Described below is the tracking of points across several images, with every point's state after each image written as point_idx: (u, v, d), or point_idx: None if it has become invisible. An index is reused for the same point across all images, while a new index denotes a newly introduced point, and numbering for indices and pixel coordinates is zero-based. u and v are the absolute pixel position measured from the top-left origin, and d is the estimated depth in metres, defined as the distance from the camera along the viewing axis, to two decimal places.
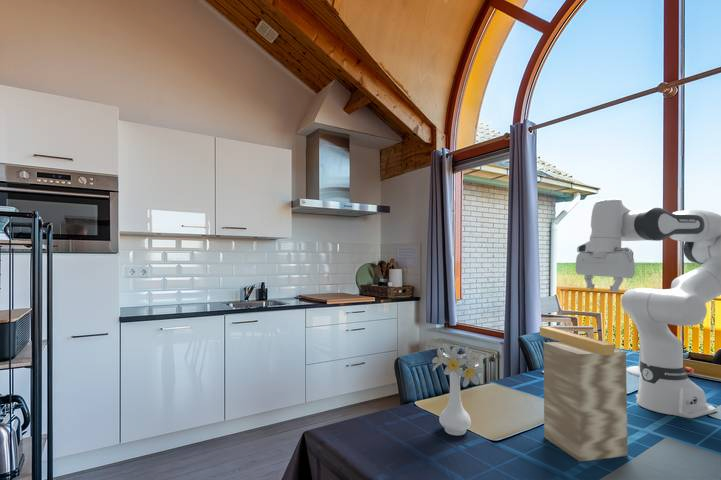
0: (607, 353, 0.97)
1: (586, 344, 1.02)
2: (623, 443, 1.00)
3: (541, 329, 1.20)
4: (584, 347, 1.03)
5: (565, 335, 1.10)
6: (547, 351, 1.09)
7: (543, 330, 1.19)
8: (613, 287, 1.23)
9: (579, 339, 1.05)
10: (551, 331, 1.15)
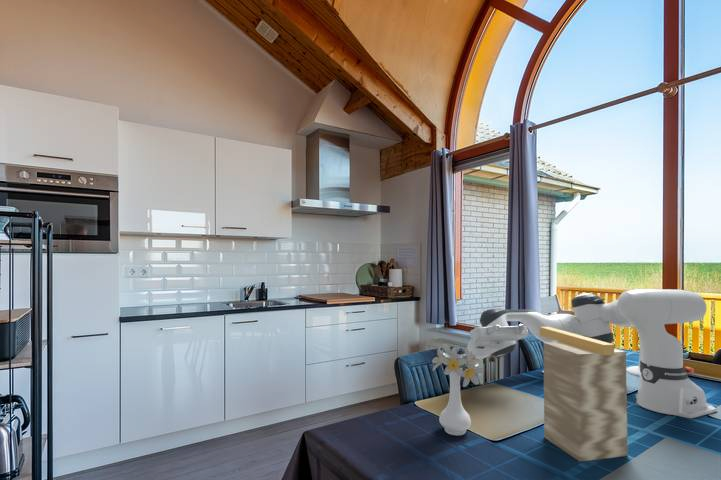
0: (607, 353, 0.97)
1: (586, 344, 1.02)
2: (623, 443, 1.00)
3: (541, 329, 1.20)
4: (584, 347, 1.03)
5: (565, 335, 1.10)
6: (547, 351, 1.09)
7: (543, 330, 1.19)
8: None
9: (579, 339, 1.05)
10: (551, 331, 1.15)
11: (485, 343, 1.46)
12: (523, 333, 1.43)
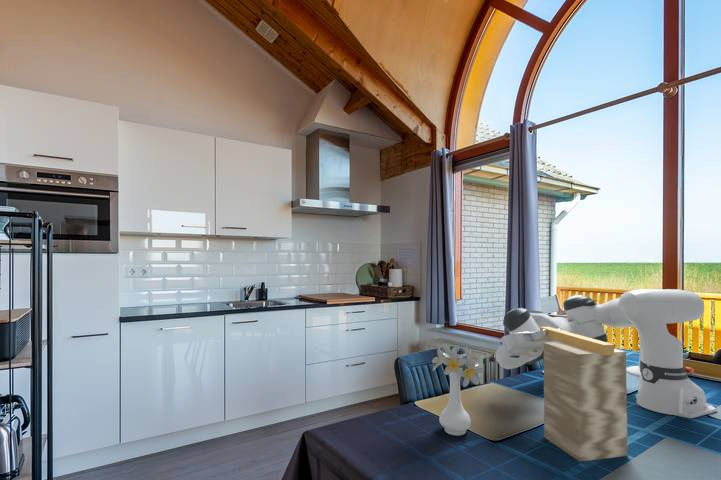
0: (607, 353, 0.97)
1: (586, 344, 1.02)
2: (623, 443, 1.00)
3: (541, 329, 1.20)
4: (584, 347, 1.03)
5: (565, 335, 1.10)
6: (547, 351, 1.09)
7: None
8: None
9: (579, 339, 1.05)
10: (551, 331, 1.15)
11: (521, 351, 1.24)
12: None
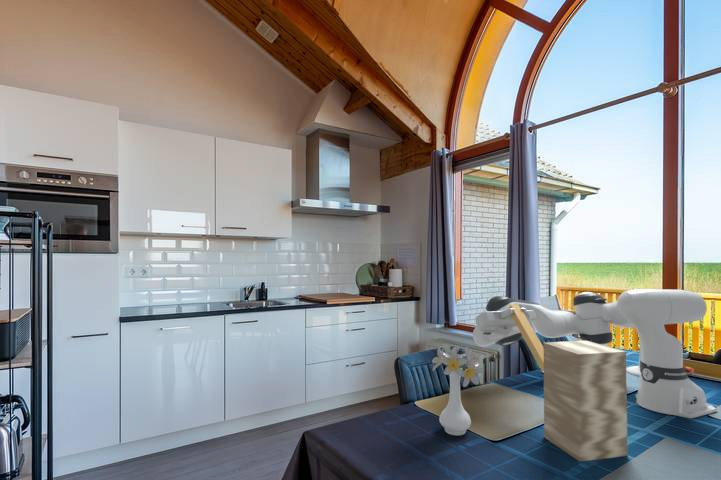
0: None
1: (535, 352, 1.22)
2: (623, 443, 1.00)
3: (510, 307, 1.35)
4: (532, 352, 1.23)
5: (524, 331, 1.27)
6: (547, 351, 1.09)
7: None
8: None
9: (532, 344, 1.24)
10: (516, 317, 1.32)
11: (492, 329, 1.40)
12: (531, 317, 1.38)
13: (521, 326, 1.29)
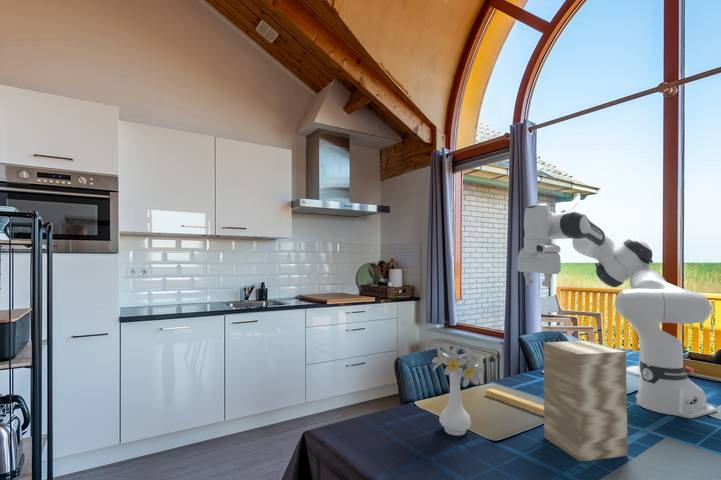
0: None
1: (533, 410, 1.26)
2: (623, 443, 1.00)
3: (487, 392, 1.41)
4: None
5: (513, 400, 1.33)
6: (547, 351, 1.09)
7: (490, 393, 1.40)
8: None
9: (527, 405, 1.28)
10: (498, 395, 1.37)
11: (539, 255, 1.41)
12: (521, 271, 1.53)
13: (507, 399, 1.34)
